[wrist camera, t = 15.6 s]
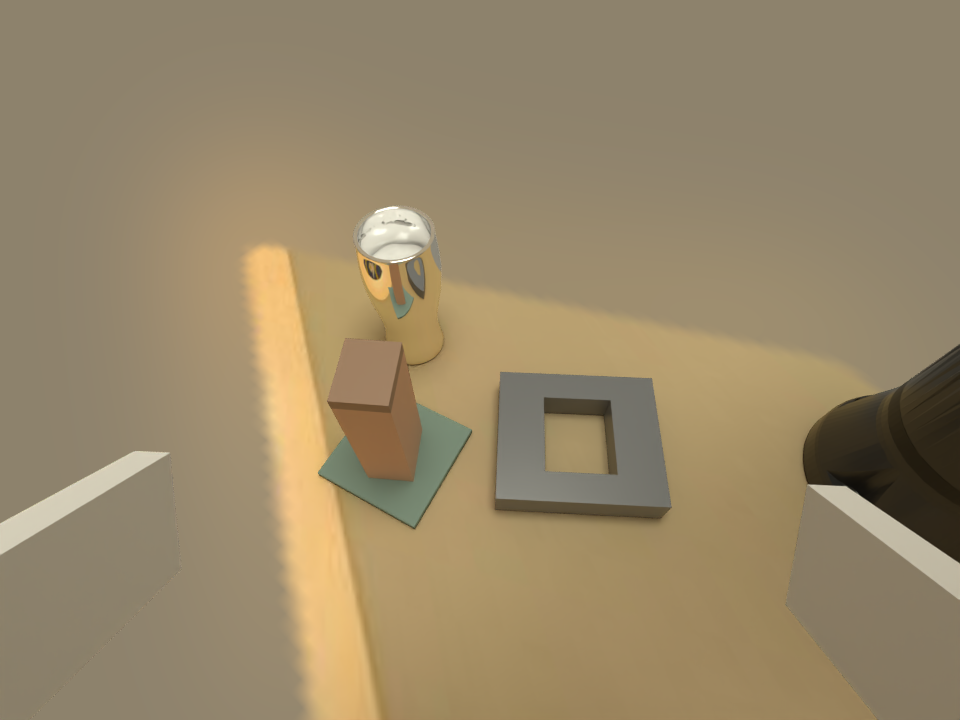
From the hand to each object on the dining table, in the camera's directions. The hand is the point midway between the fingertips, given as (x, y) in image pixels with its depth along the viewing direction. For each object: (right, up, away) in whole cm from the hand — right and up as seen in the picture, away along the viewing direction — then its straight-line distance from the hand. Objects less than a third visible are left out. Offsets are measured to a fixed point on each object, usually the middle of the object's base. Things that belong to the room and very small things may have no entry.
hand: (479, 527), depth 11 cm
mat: (-8, -5, +36) cm, 37 cm away
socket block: (+9, -5, +36) cm, 37 cm away
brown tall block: (-8, -5, +35) cm, 36 cm away
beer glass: (-7, +5, +43) cm, 44 cm away
